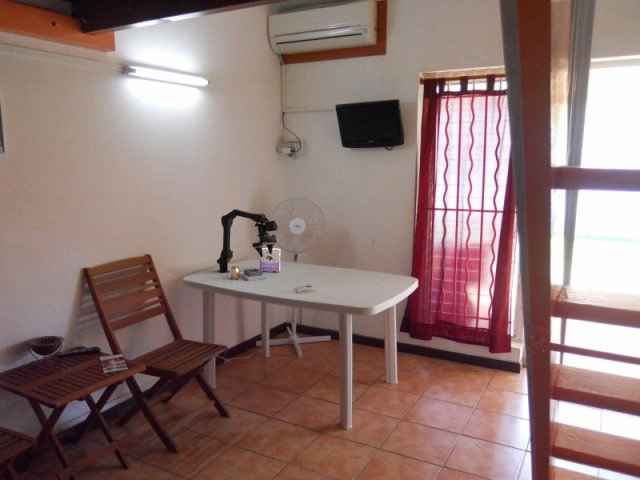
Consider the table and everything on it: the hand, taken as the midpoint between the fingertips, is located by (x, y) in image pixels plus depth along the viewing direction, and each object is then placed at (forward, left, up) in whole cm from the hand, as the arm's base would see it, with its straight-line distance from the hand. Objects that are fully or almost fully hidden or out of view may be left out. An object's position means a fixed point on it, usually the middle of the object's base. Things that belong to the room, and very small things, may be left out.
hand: (266, 255), depth 331 cm
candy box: (-15, +11, -15) cm, 24 cm away
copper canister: (-5, -20, -15) cm, 26 cm away
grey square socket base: (-5, -8, -15) cm, 18 cm away
